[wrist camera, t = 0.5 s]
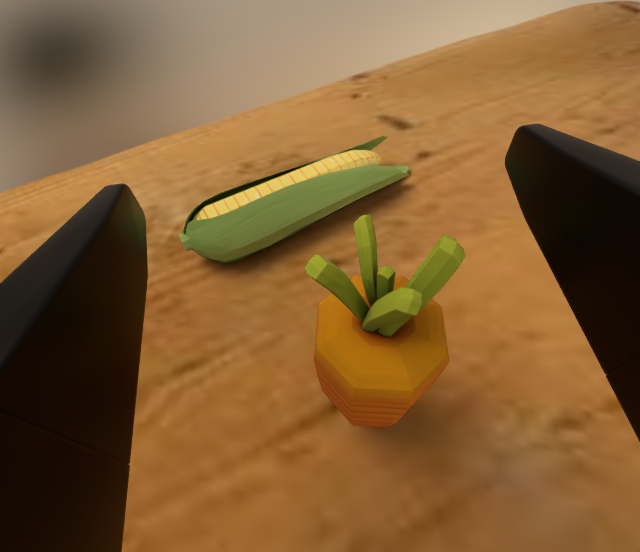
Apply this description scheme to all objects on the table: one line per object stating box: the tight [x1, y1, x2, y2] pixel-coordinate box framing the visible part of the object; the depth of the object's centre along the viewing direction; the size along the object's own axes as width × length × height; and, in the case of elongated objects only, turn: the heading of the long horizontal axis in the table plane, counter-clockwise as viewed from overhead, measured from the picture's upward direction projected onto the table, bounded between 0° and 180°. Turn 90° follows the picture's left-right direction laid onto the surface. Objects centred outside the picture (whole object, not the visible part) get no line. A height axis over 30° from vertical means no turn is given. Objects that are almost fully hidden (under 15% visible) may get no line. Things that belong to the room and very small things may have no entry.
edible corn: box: [179, 136, 410, 263], centre depth 29 cm, size 5×20×5 cm, turn 119°
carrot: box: [305, 214, 465, 427], centre depth 15 cm, size 5×5×15 cm
